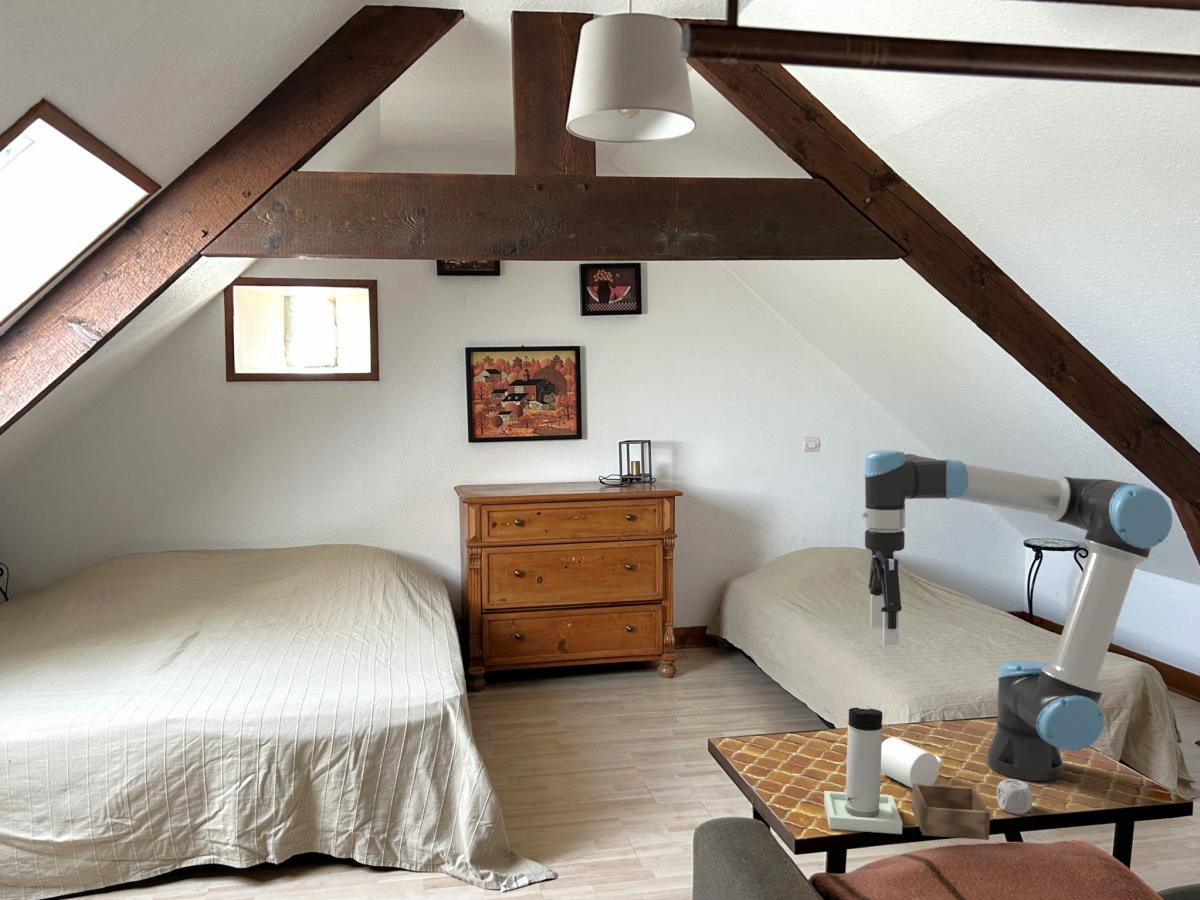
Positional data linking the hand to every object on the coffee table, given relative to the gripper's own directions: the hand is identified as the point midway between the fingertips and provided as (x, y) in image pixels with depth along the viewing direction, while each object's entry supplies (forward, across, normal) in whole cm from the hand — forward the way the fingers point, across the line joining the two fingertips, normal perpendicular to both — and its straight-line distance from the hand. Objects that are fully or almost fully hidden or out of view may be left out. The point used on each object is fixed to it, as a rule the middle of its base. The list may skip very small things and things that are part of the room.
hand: (883, 635), depth 198 cm
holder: (+32, +12, +10) cm, 36 cm away
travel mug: (+31, +12, -6) cm, 34 cm away
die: (+33, +4, +24) cm, 41 cm away
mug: (+33, -8, +8) cm, 35 cm away
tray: (+32, +12, -6) cm, 35 cm away
